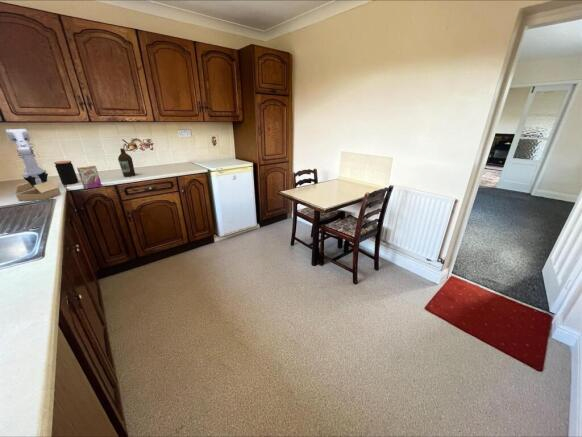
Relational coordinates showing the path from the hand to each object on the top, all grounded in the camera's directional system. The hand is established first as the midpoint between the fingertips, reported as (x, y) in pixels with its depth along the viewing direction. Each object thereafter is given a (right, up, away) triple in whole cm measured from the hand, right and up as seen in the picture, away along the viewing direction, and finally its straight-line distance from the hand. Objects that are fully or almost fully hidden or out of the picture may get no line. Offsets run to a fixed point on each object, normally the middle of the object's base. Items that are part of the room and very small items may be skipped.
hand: (40, 185), depth 165 cm
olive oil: (+19, +17, +62) cm, 67 cm away
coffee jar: (-15, +7, +39) cm, 42 cm away
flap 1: (-10, -1, 0) cm, 10 cm away
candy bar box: (+14, +2, +27) cm, 30 cm away
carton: (-3, -8, +3) cm, 9 cm away
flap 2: (+3, -1, 0) cm, 4 cm away
